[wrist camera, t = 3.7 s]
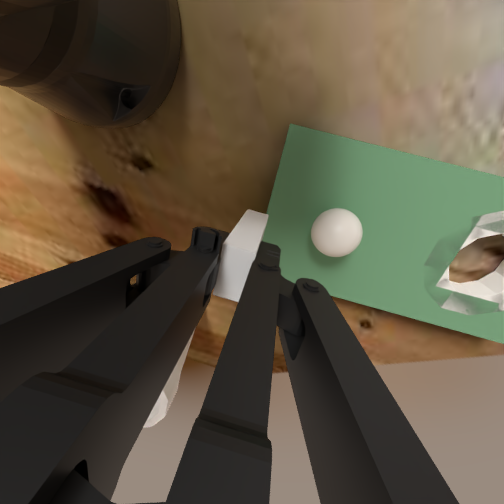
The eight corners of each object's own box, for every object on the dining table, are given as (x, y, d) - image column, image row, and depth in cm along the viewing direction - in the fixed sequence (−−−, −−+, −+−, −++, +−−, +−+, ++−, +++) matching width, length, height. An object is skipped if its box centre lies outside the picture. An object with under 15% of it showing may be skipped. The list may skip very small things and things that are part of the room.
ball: (303, 239, 23) (305, 257, 19) (318, 198, 21) (323, 209, 17) (345, 251, 22) (355, 271, 19) (363, 210, 21) (378, 223, 17)
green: (253, 262, 27) (250, 273, 25) (290, 125, 21) (290, 123, 19) (485, 326, 26) (503, 343, 24) (590, 201, 20) (628, 208, 18)
